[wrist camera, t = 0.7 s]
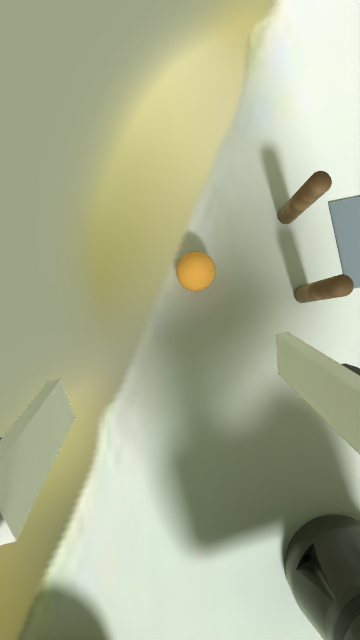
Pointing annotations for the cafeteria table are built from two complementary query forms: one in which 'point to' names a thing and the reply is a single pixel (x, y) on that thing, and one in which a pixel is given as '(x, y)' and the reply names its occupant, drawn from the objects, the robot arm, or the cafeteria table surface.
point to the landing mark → (348, 235)
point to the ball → (195, 271)
